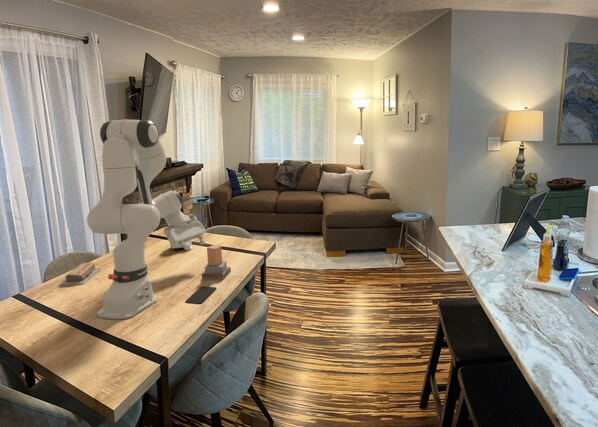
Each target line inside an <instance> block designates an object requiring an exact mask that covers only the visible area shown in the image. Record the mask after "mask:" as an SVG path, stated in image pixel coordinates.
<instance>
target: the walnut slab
mask: <svg viewBox="0 0 598 427" xmlns="http://www.w3.org/2000/svg"><path fill="white" fill-rule="evenodd" d="M231 268H232V267H231V266H227V267H226V269H225V271H224V273H211V274H205V270H204V271H203V272H202V273H201V279H203V280H215V281H216V280H217V281H219V280H220V281H224V280H225V279H226V278H227V277H226V276H228V275H229V274H230V273H231V271H232V270H231Z"/></svg>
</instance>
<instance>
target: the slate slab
mask: <svg viewBox="0 0 598 427" xmlns="http://www.w3.org/2000/svg"><path fill="white" fill-rule="evenodd" d="M226 267H228V266H227V260H222V263H221V264H219V265H217V266H214V265H208V262H207V264H206V265H205V267H204V271H205V274H211V273H224V271H225V269H226Z"/></svg>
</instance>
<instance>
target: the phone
mask: <svg viewBox="0 0 598 427" xmlns="http://www.w3.org/2000/svg"><path fill="white" fill-rule="evenodd" d="M216 291H217V287H215V286H204V285H203V286H200V287H198V289H197V290H196V291H194V292H193V293H192V294H191V295H190V296H189V297H188V298H187V299H186V300H185V301H184V302H185V303H187V304H193V305H202V304H203V303H205V302H206V301H207V300H208V298H210V296H212V295H213V293H215V292H216Z"/></svg>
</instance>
